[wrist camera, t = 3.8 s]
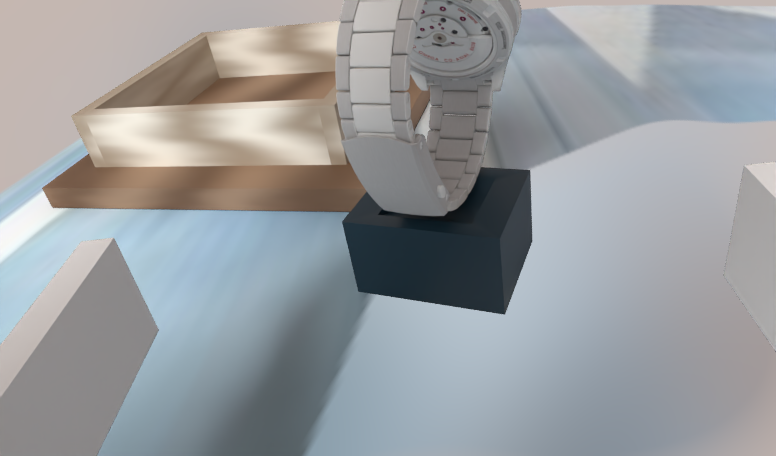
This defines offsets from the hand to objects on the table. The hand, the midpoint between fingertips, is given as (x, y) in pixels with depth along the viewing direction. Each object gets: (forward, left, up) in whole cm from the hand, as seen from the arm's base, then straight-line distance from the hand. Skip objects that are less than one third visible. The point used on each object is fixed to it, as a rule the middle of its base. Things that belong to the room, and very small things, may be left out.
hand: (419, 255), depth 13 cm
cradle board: (-3, -25, -6) cm, 26 cm away
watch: (-4, -7, -7) cm, 10 cm away
